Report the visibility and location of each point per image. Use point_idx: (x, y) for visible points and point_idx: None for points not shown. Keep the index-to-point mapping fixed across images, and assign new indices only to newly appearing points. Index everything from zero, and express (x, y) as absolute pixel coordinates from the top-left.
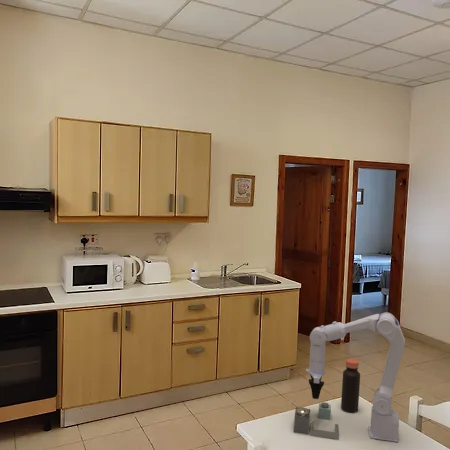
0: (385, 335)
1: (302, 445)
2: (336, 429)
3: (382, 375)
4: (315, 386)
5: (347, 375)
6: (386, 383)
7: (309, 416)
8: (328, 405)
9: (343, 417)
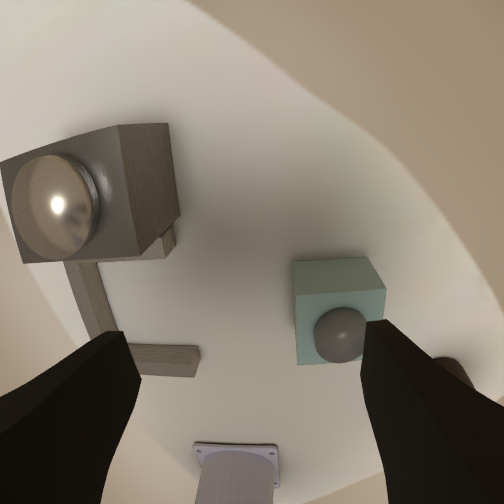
0: None
1: (3, 213)
2: (138, 366)
3: None
4: (40, 463)
5: None
6: None
7: (40, 261)
8: (333, 360)
9: (341, 376)
